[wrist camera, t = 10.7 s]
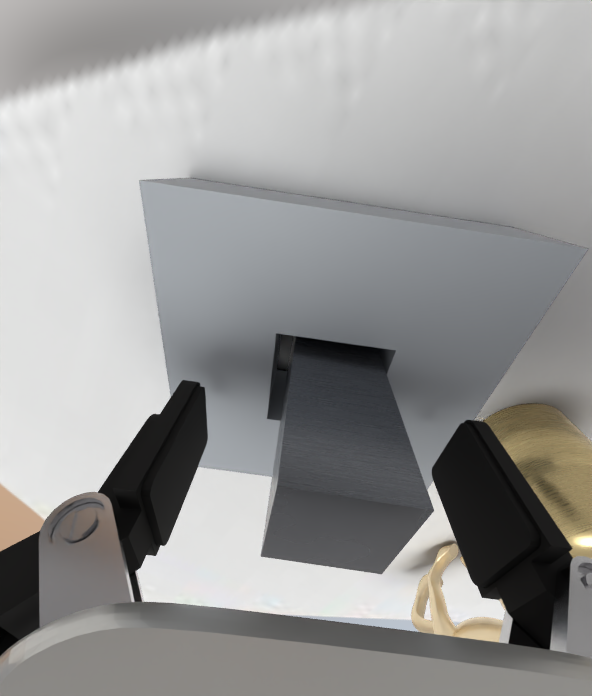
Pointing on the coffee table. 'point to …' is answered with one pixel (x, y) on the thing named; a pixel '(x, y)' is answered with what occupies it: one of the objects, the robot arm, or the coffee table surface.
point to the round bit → (552, 466)
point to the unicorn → (440, 619)
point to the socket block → (338, 304)
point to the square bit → (342, 463)
